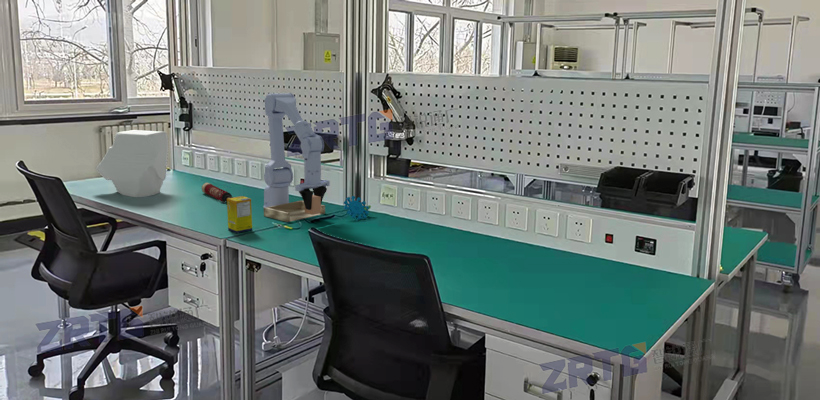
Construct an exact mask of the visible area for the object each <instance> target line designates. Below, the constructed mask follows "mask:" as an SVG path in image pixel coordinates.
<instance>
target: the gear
mask: <svg viewBox="0 0 820 400" xmlns="http://www.w3.org/2000/svg"><path fill="white" fill-rule="evenodd" d="M355 199H356V200H355ZM361 200H362V198H361V197H357V198H356V196H355V195H352V196H351V197H350V196H347V197H346V199H345V200H344V201H343V204H344V206H343V209H344V210H347V211H346V214H347V215H349V216H350V217H351V218H352V219H355V218H356V217H357V218H356V219H357V220H360V221H361V220H362V219H366V218H367V215H369V213H370V212H369V210H370V209H371V207H372V206H371V205H370V204H369V205H366V204H367V203H366V201H365V200H363V201H361ZM357 215H358V216H357Z"/></svg>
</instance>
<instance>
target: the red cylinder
mask: <svg viewBox="0 0 820 400" xmlns="http://www.w3.org/2000/svg"><path fill="white" fill-rule="evenodd" d="M201 191H202V193H204V194H206V195H209V196H210V197H212V198H214V199H216V200H218V201H220V202H222V203H225V204H227V198H233V197H234V196H232V194H231V193H230V192H228V191H227V190H224V189H222V188H219V187H218V186H215V185H214V184H212V183H209V182H205V183H203V185H201Z"/></svg>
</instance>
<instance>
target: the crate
mask: <svg viewBox="0 0 820 400" xmlns="http://www.w3.org/2000/svg"><path fill="white" fill-rule="evenodd" d="M325 214H326V205H324V204H321V213H319V214H314V215H311V214H307V213H305V204H304V201H303V199H301V200H297V201H292V202H291V201H290V202H289V203H286V204H280V205H275V206H270V207H263V216H264V217H266V218H269V219H273V220H274V219H275V220H277V221H282V222H286V223H289V222H295V221H297V220H298V221H299V220H303V219H307V218H311V217H315V216H316V217H317V216H321V215H325Z"/></svg>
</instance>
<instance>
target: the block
mask: <svg viewBox="0 0 820 400" xmlns="http://www.w3.org/2000/svg"><path fill="white" fill-rule="evenodd" d="M321 205H322V203H321V197H320V196H316V195H314V194H313V196H312V204H311V210H308V209H306V208H305V213H307V214H311V215H314V214H319V213H321Z"/></svg>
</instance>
